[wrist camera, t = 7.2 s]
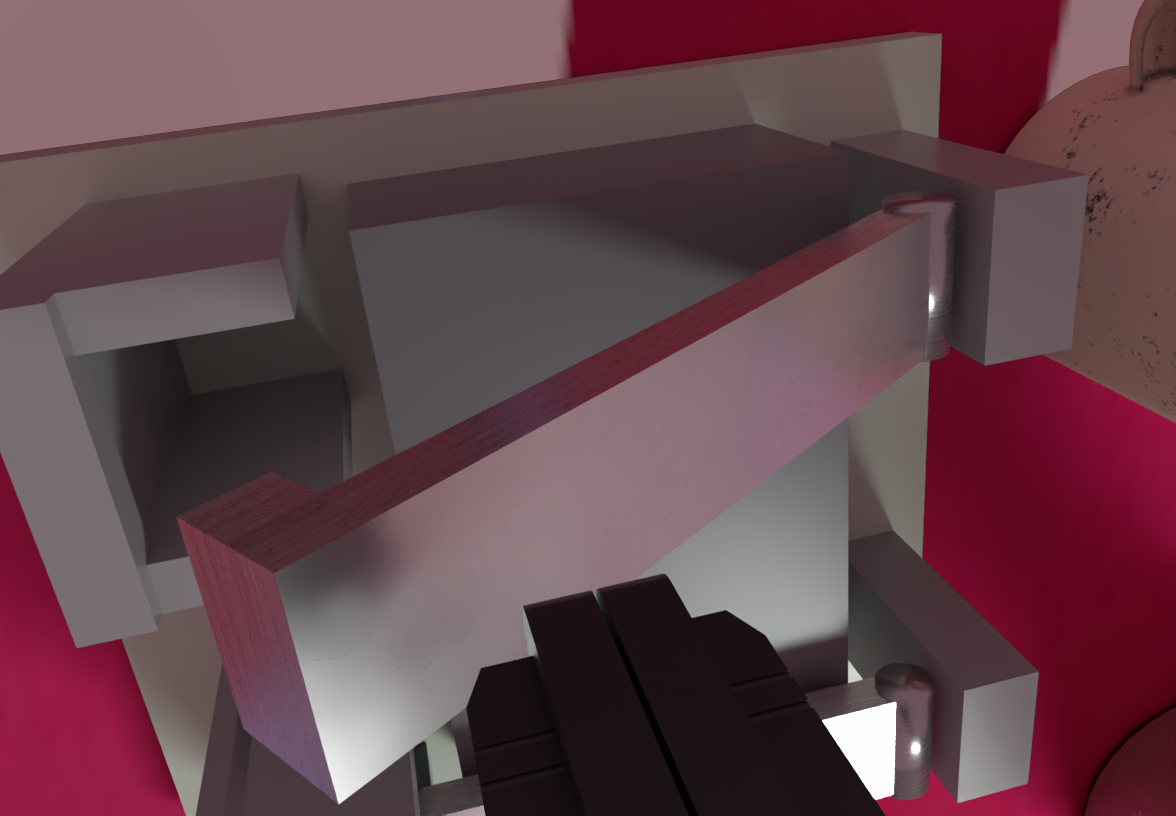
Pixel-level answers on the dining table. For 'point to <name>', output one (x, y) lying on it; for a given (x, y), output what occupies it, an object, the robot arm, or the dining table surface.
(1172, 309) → the teacup with lid
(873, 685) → the grey hinged latch bar
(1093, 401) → the dining table surface
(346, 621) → the strap
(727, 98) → the base
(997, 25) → the dining table surface
